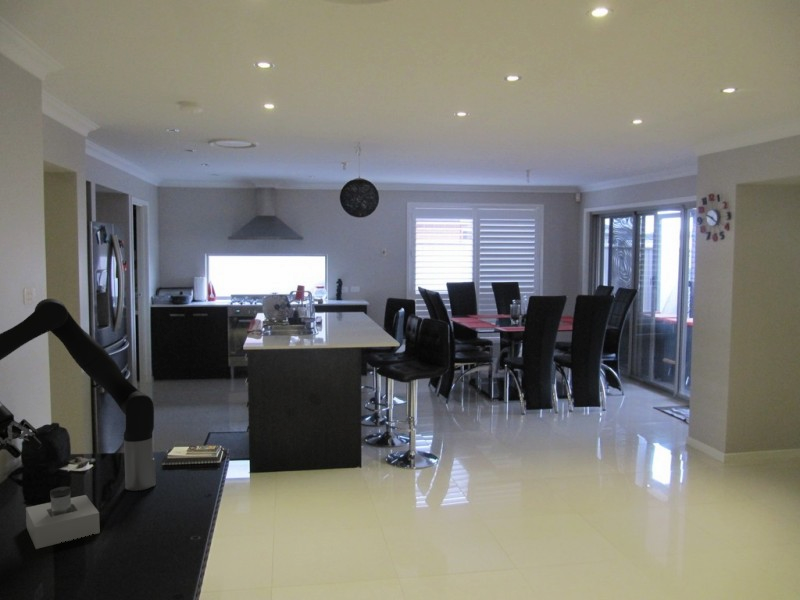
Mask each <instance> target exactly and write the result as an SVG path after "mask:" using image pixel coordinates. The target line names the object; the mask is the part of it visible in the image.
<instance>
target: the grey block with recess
mask: <svg viewBox="0 0 800 600" xmlns="http://www.w3.org/2000/svg"><path fill="white" fill-rule="evenodd" d="M25 517H26V518H25V520H26V529H27V533H28V534H29V536H30V539H31V541H32V543H33V546H34V548H35V550H38V549H41V548H45V547H50V546H53V545H57V544H62V543H66V542H70V541H74V540H78V539H81V537H82V538H84V537H85V536H86V537H90V536H93V535H92V534H94V535H97V534H100V533H101V532H100V531H101V528H100V512H99V510H98V509H97V508H96V506H95V505H94V504H93V503H92V502H91V500H90V498H89V497H88V496H87V495H86V494H84V495H79V496H74V497H71V512H70V513H66V514H61V515H57V516H52V514H51V501H50V502H45V503H41V504H37V505H32V506H27V507H25ZM89 535H90V536H89ZM77 538H78V539H77ZM73 539H74V540H73ZM65 541H66V542H65ZM61 542H62V543H61Z"/></svg>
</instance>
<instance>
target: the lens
mask: <svg viewBox="0 0 800 600" xmlns="http://www.w3.org/2000/svg"><path fill="white" fill-rule="evenodd" d="M71 493H72V492H71V487H70V486H59V487H56V488H55V487H54V488H53V489H51V490H50V491H49V496H50V502H51V514H52V516H57V515H61V514H66V513H70V512H71V498H72V497H71Z"/></svg>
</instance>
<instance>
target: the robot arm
mask: <svg viewBox="0 0 800 600" xmlns="http://www.w3.org/2000/svg"><path fill="white" fill-rule="evenodd" d="M49 332H51V333H52V334H53V335H54V336H55V337H56V338H57V339H58V340H59V341H60V342H61V343H62V344H63V345H64V347H65V349H66V350H67V352H68V353H69V355H70V356H71V358H72V359H73V360H74V361H75V363H76V364H77V365H78V366H79V367H80V369H82V370H83V372H85V374H86V375H87V376H88V377H89V378H91V379H92V381H94V382H95V383H96V384H97V385H98V386H100V387H101V388H102V389H104V390H105V392H107V394H109V396H111V398H112V399H113V401H114V402H115V403H116V404H117V406H118V407H119V409H120V410H121V411H122V413H123V414H124V415H125V430H124V432H123V449H124V452H123V453H124V479H125V480H124V483H125V487H124V488H125V490H126V491H130V492H131V491H132V492H135V491H136V492H137V491H138V490H139V491H143V490H147V489H150V488H152V487H156V486H157V483H156V481H157V480H156V478H157V477H156V459H155V458H154V447H153V446H154V444H153V443H154V442H153V441H154V440H153V433H154V428H155V407H154V401H153V400H152V398H151V397H150V396H149V395H147V394H145V393H143V392H142V391H140V390H139V389H138V388H136V386H134V385H133V384H132V383H131V382H130V381H129V380H128V379H127V378H126V377H125V375H124V374H123V371H122V370H121V368H120V367H119V365H118V364H117V362H116V361H115V360H114V358H113V357H112V356H111V355H110V354H109V353H108V351H107V349H105V348H104V347H103V346H102V345H101V344H100V343H99V342H97V341H96V339H94V338H93V336H92V335H90V334H89V333H88V332H86V331H85V330H84V329H83V328H82V326H80V325H79V324H78V323H77V321H76V320H75V319H74V317H73V316H72V315H71V314H70V312H69V310H68V309H67V307H66V306H65V304H64V303H63V302H62V301H60V300H58V299H56V298H45V299H43V300H41V301H39V302H38V303H37V304H36V306H35V307H34V311H33V312H32V313H30V314H29V316H27V318H25V319H24V320H22V321H21V322H19V323H18V324H16V325H14V326H13V327H11V328H8V329H7V330H5V331H3V332H1V333H0V361H1V360H3V359H5V358H6V357H8V356H9V355H10V354H12V353H14V352H15V351H16V350H18V349H19V348H21V347H23V346H24V345H25V344H28V343H29V342H30V341H32V340H35V339H36V338H38V337H40V336H42V335H44V334H46V333H49ZM37 433H39V432H38V430H37V429H36V428H35V427H34V425H32V424H31V423H30V422H29V421H28V420H26V419H25V418H23V419H21V420H20V421H19V422H18V421H16V420H15V415H14V413H12V412H11V411H10V410H9V409H8V408H7V407H6V406H5V405H4V403H2V402H1V401H0V451H2V450H4V451H7V452H8V453H9V454H10V455H11V456H12V457H13V458H15V459H18V458H20V457H21V456H22V453H23V452H22V451H21V450H20V449H19V448H18V447H17V446H16V445H15V444H13V440H15V439H19V440H26V441H28V442H27V443H28V444H30V445H31V446H32V447H33V448H35V450H39V449H41V447H42V446H43V444H42V442H41V440H40V439H38V438H37V437H36V434H37ZM155 485H156V486H155Z"/></svg>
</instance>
